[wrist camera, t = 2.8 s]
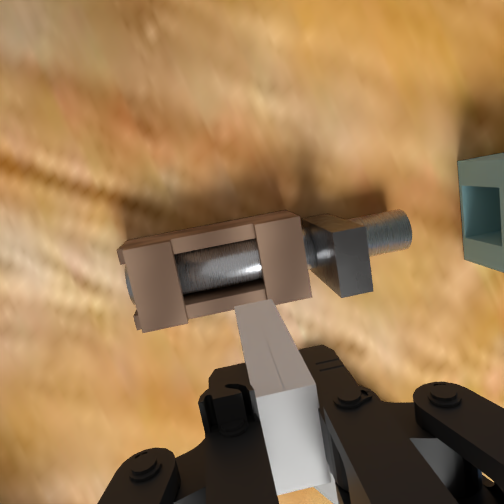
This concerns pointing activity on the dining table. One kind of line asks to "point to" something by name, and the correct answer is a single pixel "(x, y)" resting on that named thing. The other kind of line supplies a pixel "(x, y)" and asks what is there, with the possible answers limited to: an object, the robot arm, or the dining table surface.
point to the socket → (483, 209)
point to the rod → (316, 248)
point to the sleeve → (223, 298)
